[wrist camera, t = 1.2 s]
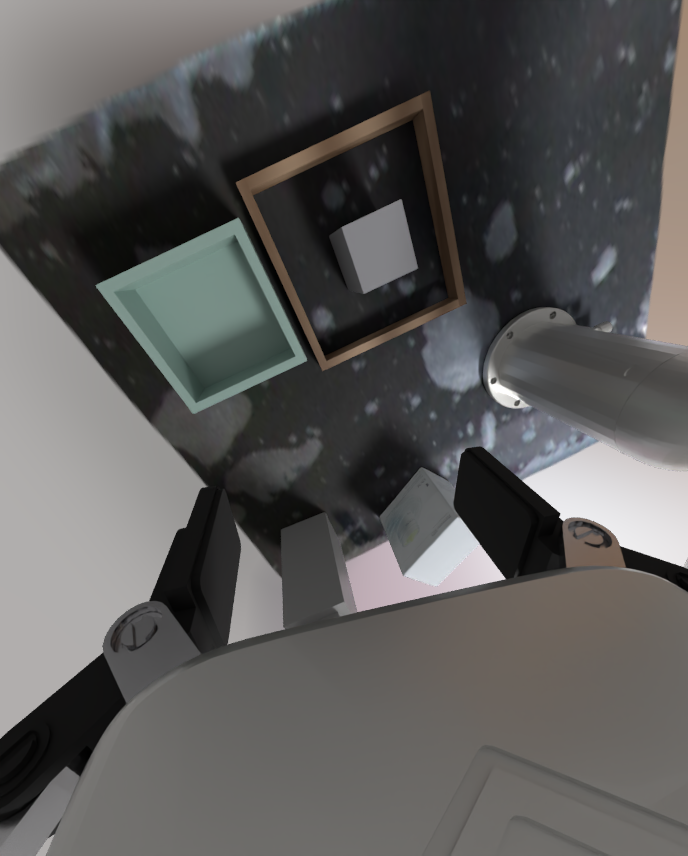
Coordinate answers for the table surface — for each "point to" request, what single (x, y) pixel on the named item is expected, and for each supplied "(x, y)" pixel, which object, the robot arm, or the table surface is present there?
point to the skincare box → (427, 529)
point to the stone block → (374, 249)
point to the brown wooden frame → (438, 200)
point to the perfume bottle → (313, 573)
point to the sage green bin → (207, 316)
